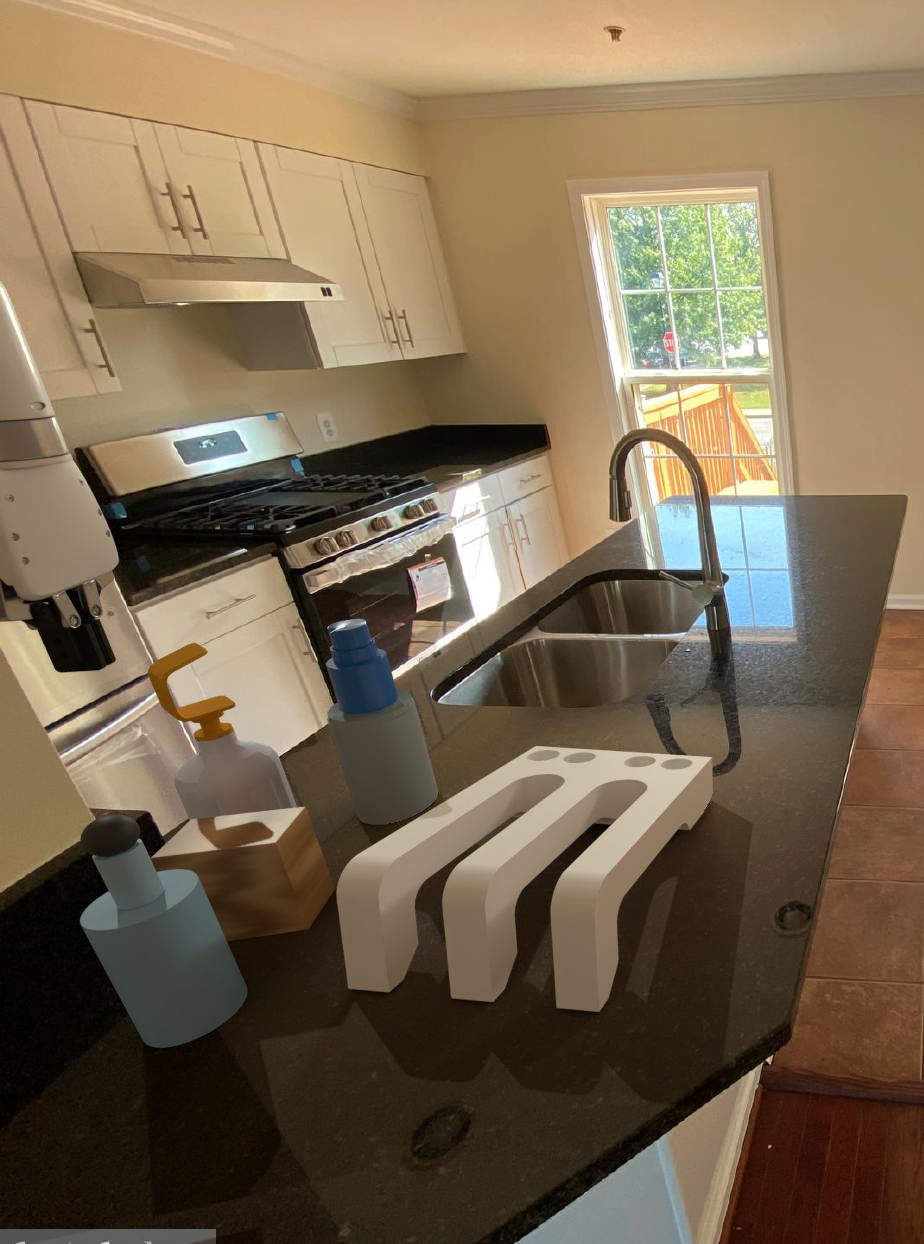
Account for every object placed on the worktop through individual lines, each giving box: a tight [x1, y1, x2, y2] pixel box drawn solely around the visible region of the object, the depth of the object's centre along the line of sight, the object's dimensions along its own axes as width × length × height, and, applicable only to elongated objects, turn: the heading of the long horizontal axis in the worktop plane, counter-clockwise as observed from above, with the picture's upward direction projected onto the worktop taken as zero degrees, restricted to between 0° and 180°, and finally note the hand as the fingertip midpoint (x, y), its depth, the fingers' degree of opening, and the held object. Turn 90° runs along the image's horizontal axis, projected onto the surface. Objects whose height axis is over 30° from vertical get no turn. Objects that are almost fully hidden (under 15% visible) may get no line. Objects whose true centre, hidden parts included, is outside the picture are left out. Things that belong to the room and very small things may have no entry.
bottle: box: [79, 814, 248, 1049], centre depth 59 cm, size 13×7×20 cm, turn 12°
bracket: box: [336, 745, 714, 1013], centre depth 79 cm, size 24×12×32 cm
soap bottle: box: [147, 642, 298, 821], centre depth 81 cm, size 9×9×25 cm
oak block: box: [150, 806, 336, 943], centre depth 72 cm, size 10×6×11 cm, turn 104°
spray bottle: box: [325, 618, 439, 826], centre depth 87 cm, size 9×9×25 cm
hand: (87, 667), depth 60 cm, fingers closed
